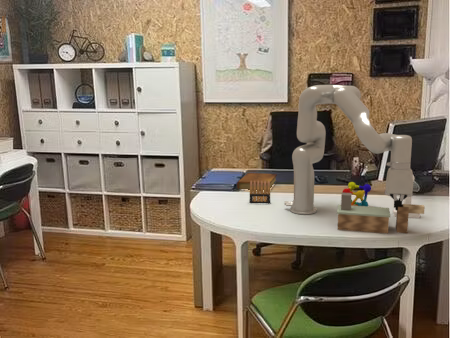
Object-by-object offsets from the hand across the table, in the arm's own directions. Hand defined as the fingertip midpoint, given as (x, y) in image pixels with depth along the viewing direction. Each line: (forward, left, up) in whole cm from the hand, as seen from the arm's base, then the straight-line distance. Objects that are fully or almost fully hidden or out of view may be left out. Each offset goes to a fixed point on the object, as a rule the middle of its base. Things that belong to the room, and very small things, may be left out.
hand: (397, 209), depth 186 cm
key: (+6, 0, -1) cm, 6 cm away
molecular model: (-17, +29, -9) cm, 35 cm away
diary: (-73, +61, -10) cm, 95 cm away
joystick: (+5, +22, -9) cm, 24 cm away
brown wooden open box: (-10, 0, -9) cm, 13 cm away
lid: (-14, 0, -2) cm, 14 cm away
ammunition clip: (-64, +26, -9) cm, 69 cm away
